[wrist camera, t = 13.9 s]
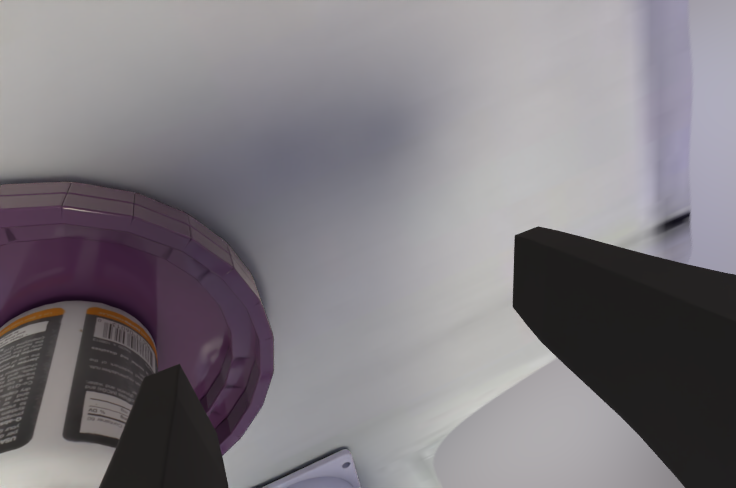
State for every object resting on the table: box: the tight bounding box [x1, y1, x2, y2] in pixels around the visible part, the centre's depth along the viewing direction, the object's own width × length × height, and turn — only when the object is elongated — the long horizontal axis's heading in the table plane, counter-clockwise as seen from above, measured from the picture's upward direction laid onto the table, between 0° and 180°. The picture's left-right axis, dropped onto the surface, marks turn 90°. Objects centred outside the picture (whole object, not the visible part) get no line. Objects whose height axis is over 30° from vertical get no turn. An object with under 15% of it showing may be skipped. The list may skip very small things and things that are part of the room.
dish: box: [0, 182, 274, 456], centre depth 17 cm, size 14×14×3 cm
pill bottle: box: [0, 301, 158, 488], centre depth 14 cm, size 6×6×10 cm
